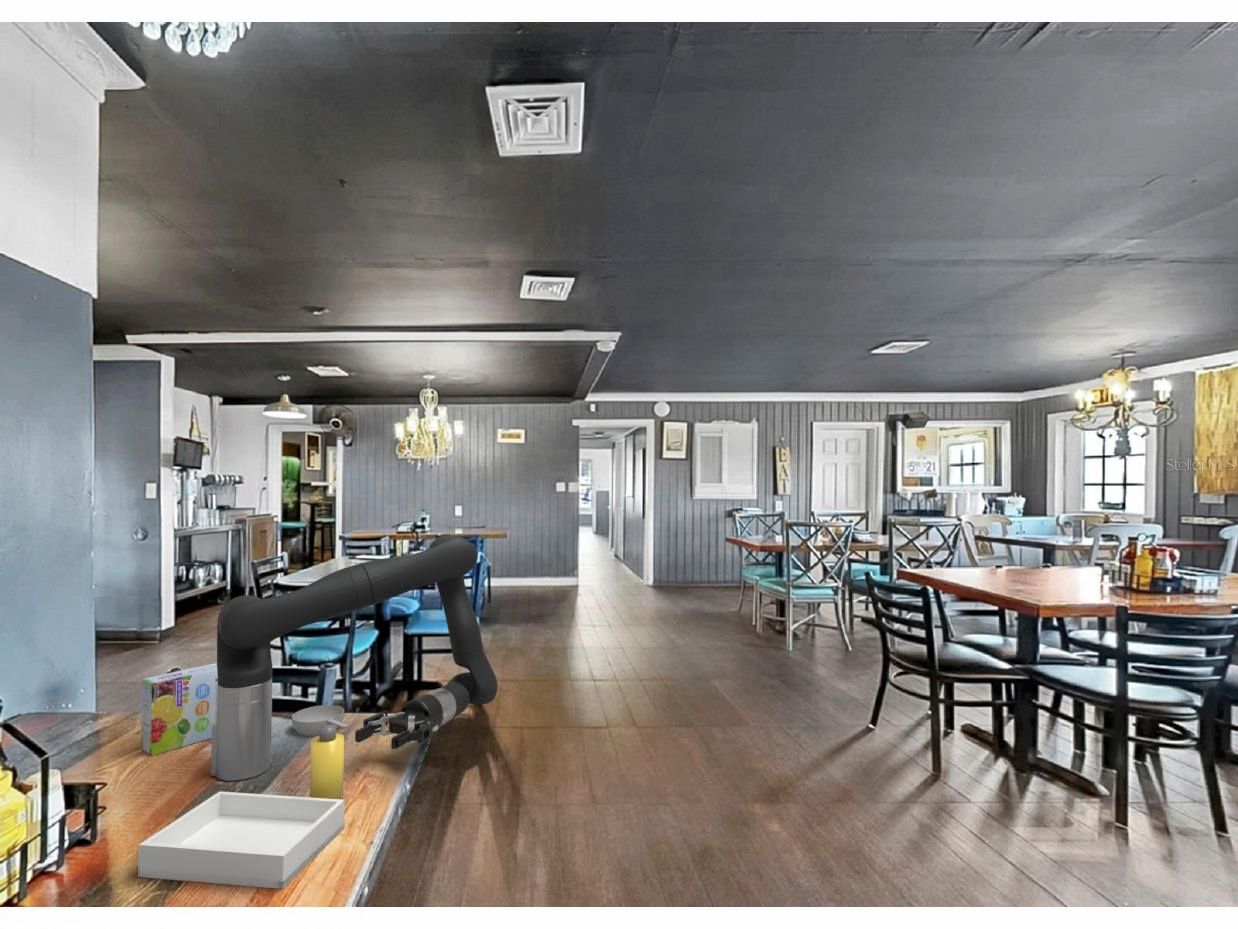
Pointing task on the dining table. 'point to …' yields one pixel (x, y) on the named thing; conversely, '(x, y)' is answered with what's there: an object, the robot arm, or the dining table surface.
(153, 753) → the snack box
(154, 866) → the tray
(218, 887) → the dining table surface
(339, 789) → the squeeze bottle
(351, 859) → the dining table surface
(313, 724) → the small pan
